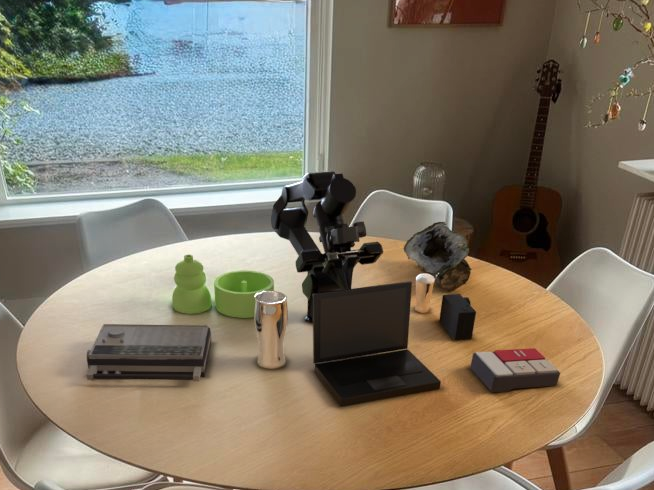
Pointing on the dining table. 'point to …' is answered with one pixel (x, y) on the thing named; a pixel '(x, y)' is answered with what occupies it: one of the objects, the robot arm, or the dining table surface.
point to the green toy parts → (217, 290)
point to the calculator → (514, 369)
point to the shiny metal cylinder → (423, 292)
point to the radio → (150, 352)
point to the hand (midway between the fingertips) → (348, 293)
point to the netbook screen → (361, 321)
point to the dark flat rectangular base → (376, 377)
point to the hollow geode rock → (440, 255)
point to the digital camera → (457, 316)
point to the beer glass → (270, 327)
